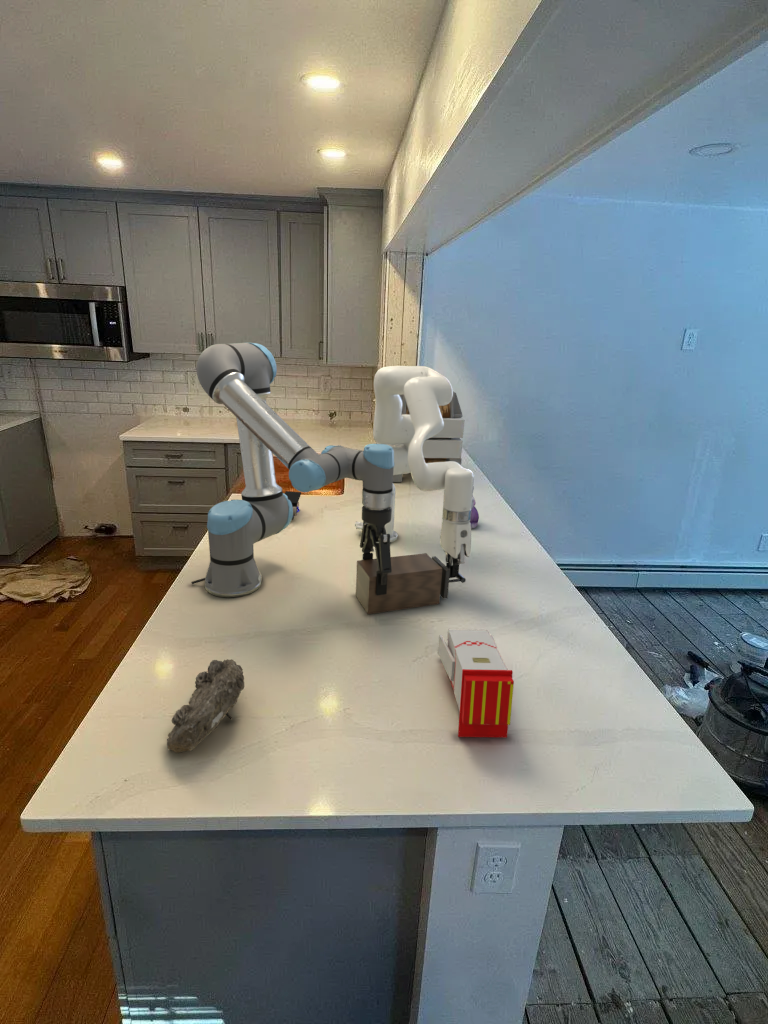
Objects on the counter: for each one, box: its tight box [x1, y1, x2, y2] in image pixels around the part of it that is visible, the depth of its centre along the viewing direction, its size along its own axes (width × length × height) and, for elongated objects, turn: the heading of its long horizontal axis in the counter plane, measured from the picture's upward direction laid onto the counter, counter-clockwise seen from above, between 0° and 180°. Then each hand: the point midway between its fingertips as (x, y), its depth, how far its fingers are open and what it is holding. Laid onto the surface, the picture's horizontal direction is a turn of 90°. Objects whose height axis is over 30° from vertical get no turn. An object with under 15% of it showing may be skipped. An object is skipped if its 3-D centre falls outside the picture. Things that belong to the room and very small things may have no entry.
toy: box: [437, 628, 515, 738], centre depth 117 cm, size 12×13×30 cm
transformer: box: [389, 390, 465, 483], centre depth 268 cm, size 34×33×41 cm
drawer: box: [431, 555, 467, 600], centre depth 155 cm, size 25×9×9 cm, turn 110°
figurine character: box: [284, 490, 302, 521], centre depth 211 cm, size 7×8×15 cm
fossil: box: [166, 658, 245, 754], centre depth 106 cm, size 22×10×15 cm
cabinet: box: [355, 552, 442, 615], centre depth 153 cm, size 20×10×10 cm, turn 110°
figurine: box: [470, 485, 480, 529], centre depth 208 cm, size 9×10×15 cm
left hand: (373, 584), depth 150 cm, fingers closed on cabinet, 10 cm apart
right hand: (451, 576), depth 158 cm, fingers closed
